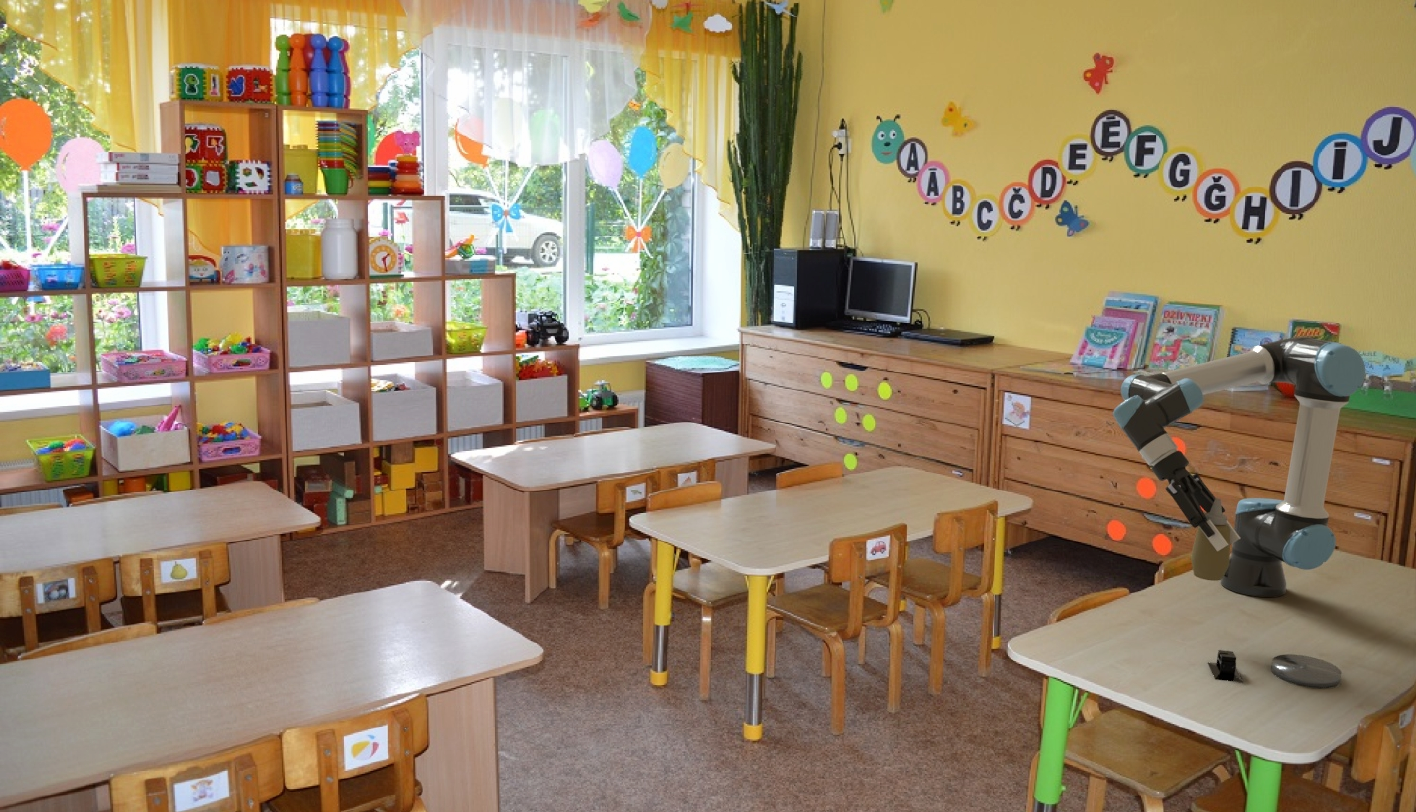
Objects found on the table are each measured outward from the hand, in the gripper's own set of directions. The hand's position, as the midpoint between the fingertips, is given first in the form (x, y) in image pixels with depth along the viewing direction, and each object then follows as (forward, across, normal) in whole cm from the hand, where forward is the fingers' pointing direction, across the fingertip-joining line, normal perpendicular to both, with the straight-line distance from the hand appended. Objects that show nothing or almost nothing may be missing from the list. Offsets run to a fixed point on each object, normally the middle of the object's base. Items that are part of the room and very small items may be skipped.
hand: (1228, 544), depth 265 cm
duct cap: (+30, +7, -1) cm, 31 cm away
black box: (+22, +17, -10) cm, 30 cm away
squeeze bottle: (+4, 0, -9) cm, 9 cm away
